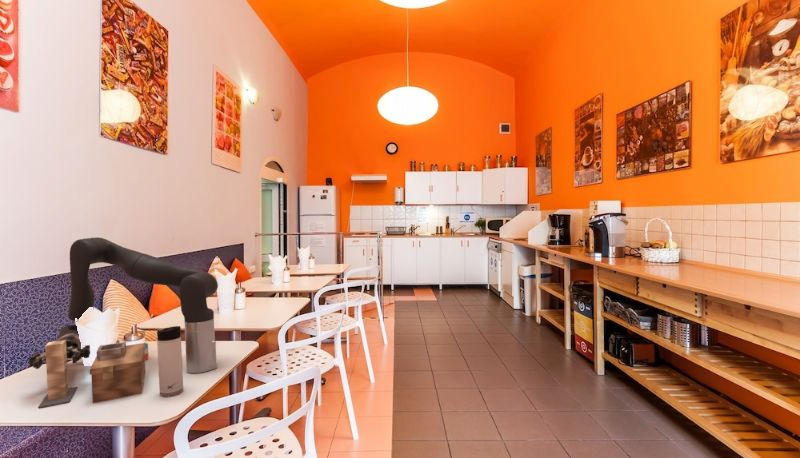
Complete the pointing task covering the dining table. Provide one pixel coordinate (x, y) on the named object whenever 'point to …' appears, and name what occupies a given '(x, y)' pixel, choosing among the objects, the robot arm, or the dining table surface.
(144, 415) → the dining table surface
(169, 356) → the travel mug
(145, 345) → the yogurt
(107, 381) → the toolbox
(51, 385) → the wooden block
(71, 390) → the rubber mat
